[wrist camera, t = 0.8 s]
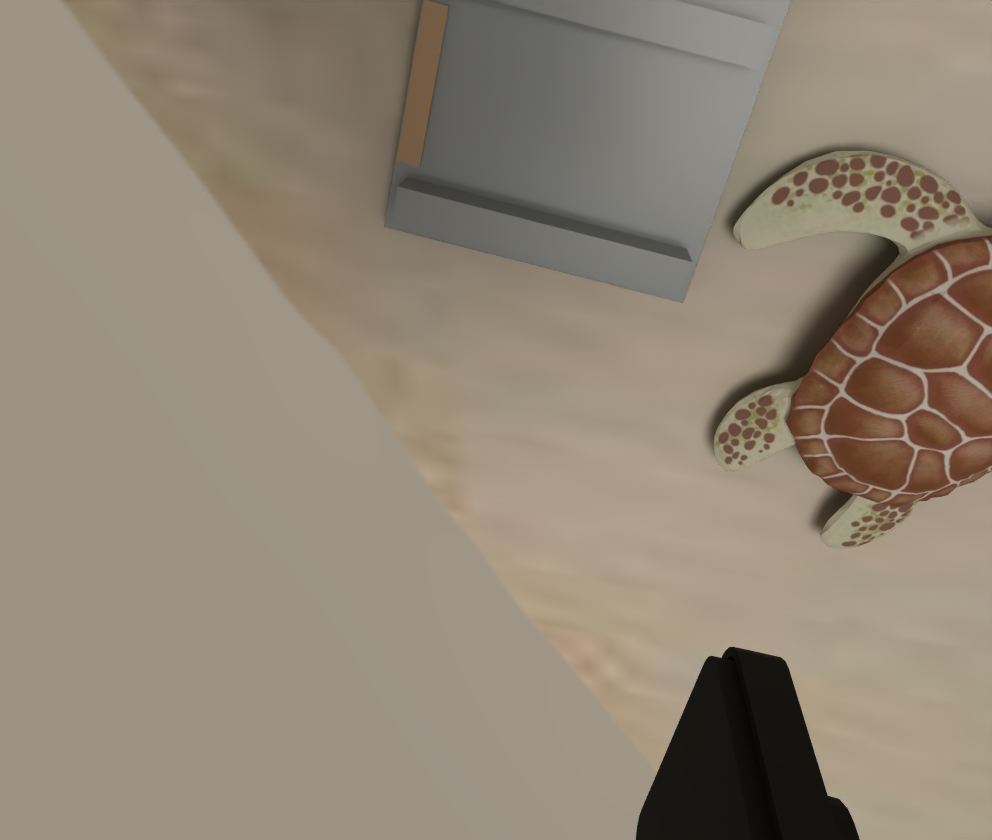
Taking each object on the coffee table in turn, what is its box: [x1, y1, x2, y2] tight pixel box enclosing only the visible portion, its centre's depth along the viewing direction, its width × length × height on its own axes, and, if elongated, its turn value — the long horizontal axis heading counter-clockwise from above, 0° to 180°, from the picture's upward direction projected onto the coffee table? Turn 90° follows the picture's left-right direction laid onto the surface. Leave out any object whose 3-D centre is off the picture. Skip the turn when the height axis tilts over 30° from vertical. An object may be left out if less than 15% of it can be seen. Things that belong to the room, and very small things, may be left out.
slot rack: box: [384, 0, 791, 303], centre depth 25 cm, size 17×11×3 cm, turn 167°
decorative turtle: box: [713, 151, 992, 549], centre depth 29 cm, size 18×17×5 cm
